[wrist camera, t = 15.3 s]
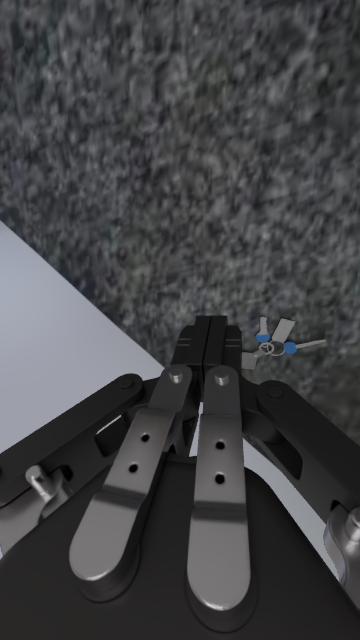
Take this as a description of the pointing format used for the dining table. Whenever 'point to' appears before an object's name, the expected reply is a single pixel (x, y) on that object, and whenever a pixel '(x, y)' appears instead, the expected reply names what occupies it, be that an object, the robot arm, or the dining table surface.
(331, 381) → the dining table surface
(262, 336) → the key chain
